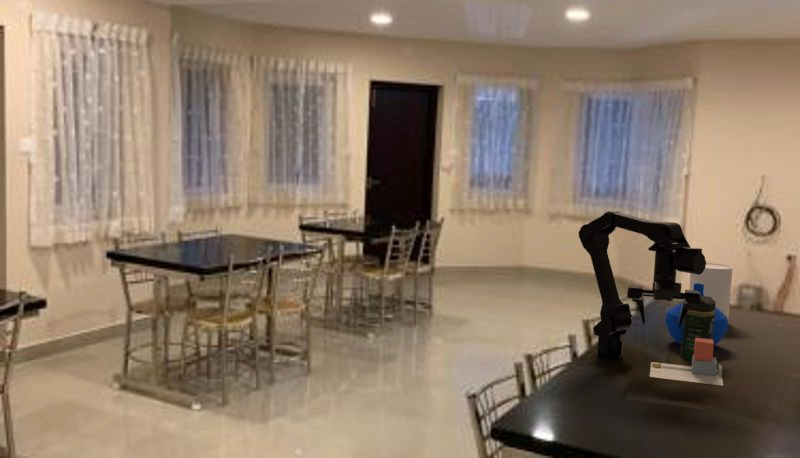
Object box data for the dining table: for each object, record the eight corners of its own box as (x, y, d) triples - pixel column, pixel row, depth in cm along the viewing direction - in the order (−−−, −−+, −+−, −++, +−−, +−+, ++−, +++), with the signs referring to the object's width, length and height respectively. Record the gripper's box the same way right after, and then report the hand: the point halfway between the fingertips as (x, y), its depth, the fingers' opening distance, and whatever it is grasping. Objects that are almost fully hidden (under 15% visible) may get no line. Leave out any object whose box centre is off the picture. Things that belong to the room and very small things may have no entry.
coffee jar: (705, 365, 222) (710, 301, 220) (676, 360, 227) (681, 297, 225) (714, 358, 230) (719, 296, 228) (686, 353, 235) (691, 292, 233)
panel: (649, 380, 207) (650, 369, 206) (651, 365, 221) (651, 355, 220) (723, 389, 201) (724, 377, 201) (720, 373, 215) (721, 362, 215)
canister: (734, 326, 272) (738, 269, 270) (695, 325, 272) (699, 268, 270) (719, 318, 285) (723, 263, 283) (681, 316, 285) (685, 262, 283)
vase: (661, 347, 241) (665, 286, 238) (665, 334, 257) (669, 277, 255) (726, 355, 234) (731, 292, 232) (726, 341, 251) (730, 282, 248)
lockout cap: (694, 359, 211) (695, 341, 210) (693, 355, 215) (695, 337, 215) (712, 361, 209) (713, 343, 209) (711, 357, 214) (712, 339, 213)
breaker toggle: (691, 373, 211) (692, 360, 210) (691, 367, 216) (692, 354, 216) (715, 375, 209) (717, 363, 208) (714, 369, 214) (715, 357, 214)
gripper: (627, 270, 209) (624, 328, 210) (703, 276, 203) (698, 335, 204) (630, 264, 219) (626, 319, 221) (701, 270, 213) (697, 326, 215)
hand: (661, 325), depth 215 cm, fingers open, 9 cm apart
